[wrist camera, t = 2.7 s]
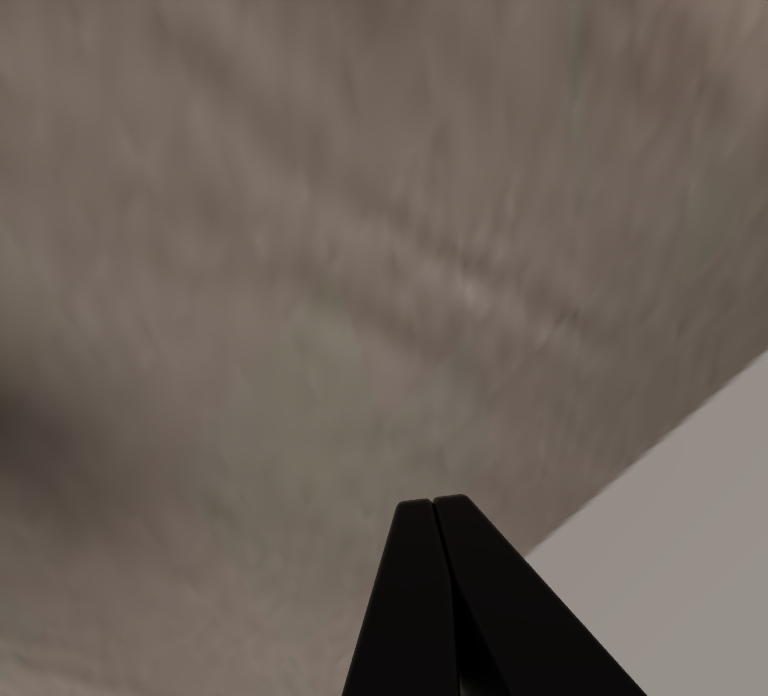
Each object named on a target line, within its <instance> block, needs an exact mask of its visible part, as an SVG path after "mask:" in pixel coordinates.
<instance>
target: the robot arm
mask: <svg viewBox="0 0 768 696" xmlns="http://www.w3.org/2000/svg"><path fill="white" fill-rule="evenodd" d="M342 696H647V695H646V694H645V693H644V691H643V690H642V689H641V688H640V687H639V686H638V685H637V684H636V683H635V682H634V680H633V679H632V678H631V677H630V676H629V675H628V674H627V673H626V672H625V670H624V669H623V668H622V667H621V666H620V665H619V664H618V663H617V662H616V660H615V659H614V658H613V657H612V656H611V655H610V654H609V653H608V652H607V650H606V649H605V648H604V647H603V646H602V645H601V644H600V643H599V642H598V640H597V639H596V638H595V637H594V636H593V635H592V634H591V633H590V632H589V630H588V629H587V628H586V627H585V626H584V625H583V624H582V623H581V622H580V620H579V619H578V618H577V617H576V616H575V615H574V614H573V613H572V612H571V611H570V609H569V608H568V607H567V606H566V605H565V604H564V603H563V602H562V600H561V599H560V598H559V597H558V596H557V595H556V594H555V593H554V592H553V590H552V589H551V588H550V587H549V586H548V585H547V584H546V583H545V582H544V581H543V579H542V578H541V577H540V576H539V575H538V574H537V573H536V572H535V570H534V569H533V568H532V567H531V566H530V565H529V564H528V563H527V562H526V561H525V559H524V558H523V557H522V556H521V555H520V554H519V553H518V552H517V551H516V549H515V548H514V547H513V546H512V545H511V544H510V543H509V542H508V541H507V539H506V538H505V537H504V536H503V535H502V534H501V533H500V532H499V531H498V529H497V528H496V527H495V526H494V525H493V524H492V523H491V522H490V521H489V519H488V518H487V517H486V516H485V515H484V514H483V513H482V512H481V511H480V509H479V508H478V507H477V506H476V505H475V504H474V503H473V502H472V501H471V500H470V499H469V498H468V497H467V496H466V495H463V494H458V495H449V496H441V497H436V498H435V499H434V500H433V502H431V501H430V500H429V499H417V500H409V501H402V502H400V503H399V504H398V505H397V507H396V510H395V513H394V517H393V520H392V524H391V527H390V530H389V534H388V537H387V541H386V544H385V548H384V551H383V555H382V558H381V561H380V565H379V568H378V572H377V575H376V579H375V582H374V586H373V589H372V593H371V596H370V599H369V603H368V606H367V610H366V613H365V617H364V620H363V624H362V627H361V630H360V634H359V637H358V641H357V644H356V648H355V651H354V655H353V658H352V662H351V665H350V668H349V672H348V675H347V679H346V682H345V686H344V689H343V693H342Z"/></svg>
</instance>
